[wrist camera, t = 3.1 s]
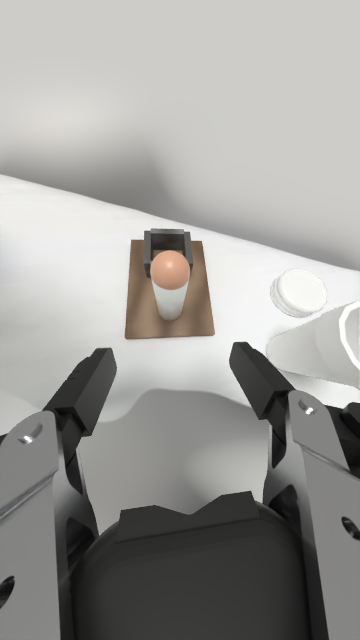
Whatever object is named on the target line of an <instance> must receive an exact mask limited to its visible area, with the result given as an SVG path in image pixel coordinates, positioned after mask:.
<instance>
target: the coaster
mask: <svg viewBox="0 0 360 640" xmlns="http://www.w3.org/2000/svg"><path fill="white" fill-rule="evenodd" d="M270 295H271V298H272V300H273V302H274V304H275V305H276V306H277V307H278V308H279V309H280V310H281V311H282V312H284V313H286V314H288V315H290V316H294V317H303V316H307V315H309V314H312V313H315V312H318V311H320V310H322V309H323V308H324V307H325V306H326V304H327V301H328V293H327V289H326V287H325V285H324V284H323V282H322V281H321V280H320V279H319V278H318V277H317V276H315V275H314V274H312V273H311V272H308V271H306V270H302V269H291V270H288V271H286V272H284V273H283V274H282V275H280V276H279V277H278V278H277V279H275V280H274V281H273V283H272V285H271V288H270Z"/></svg>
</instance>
